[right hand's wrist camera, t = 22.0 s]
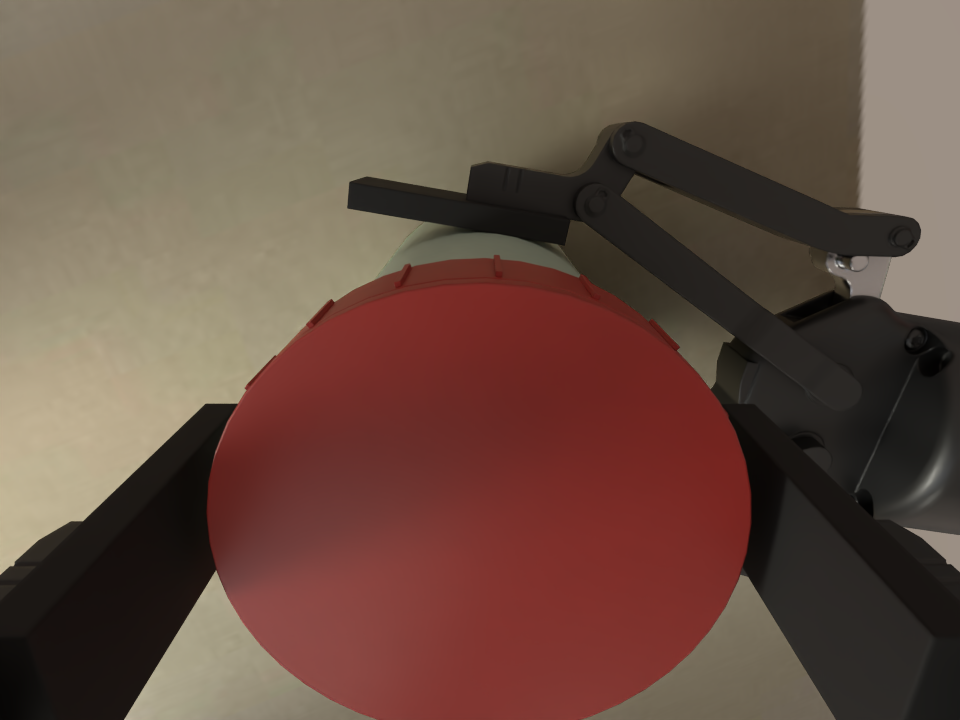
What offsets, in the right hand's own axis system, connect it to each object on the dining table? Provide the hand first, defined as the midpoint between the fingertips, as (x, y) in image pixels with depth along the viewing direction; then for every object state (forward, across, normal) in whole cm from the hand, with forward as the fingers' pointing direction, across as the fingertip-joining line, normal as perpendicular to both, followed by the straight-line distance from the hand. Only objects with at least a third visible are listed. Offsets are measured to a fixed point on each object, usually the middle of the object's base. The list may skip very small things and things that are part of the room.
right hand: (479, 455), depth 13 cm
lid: (-3, 0, 0) cm, 3 cm away
